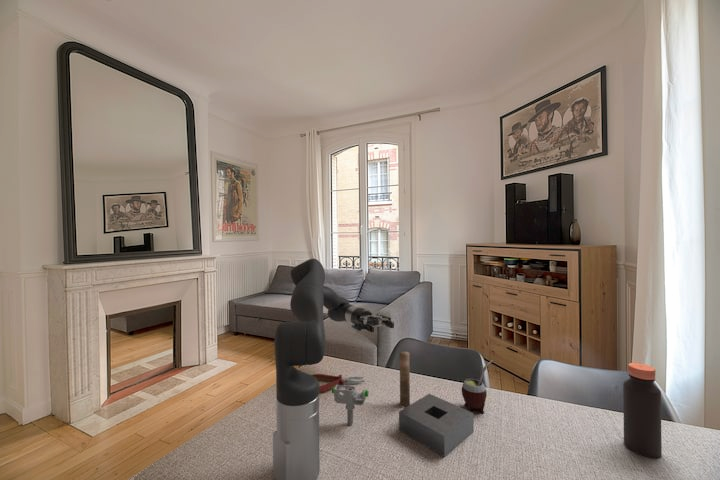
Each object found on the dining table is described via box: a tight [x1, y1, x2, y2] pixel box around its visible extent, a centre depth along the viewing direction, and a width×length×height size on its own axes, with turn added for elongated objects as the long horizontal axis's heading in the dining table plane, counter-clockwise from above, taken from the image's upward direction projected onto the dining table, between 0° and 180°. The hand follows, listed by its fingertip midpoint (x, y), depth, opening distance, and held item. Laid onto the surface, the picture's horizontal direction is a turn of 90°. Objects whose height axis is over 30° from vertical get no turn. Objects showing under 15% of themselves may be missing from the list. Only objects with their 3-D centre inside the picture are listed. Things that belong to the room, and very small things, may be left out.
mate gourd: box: [461, 359, 494, 415], centre depth 92 cm, size 8×8×15 cm
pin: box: [399, 351, 411, 408], centre depth 94 cm, size 3×3×16 cm
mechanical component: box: [331, 385, 369, 427], centre depth 84 cm, size 3×10×10 cm, turn 79°
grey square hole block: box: [398, 393, 475, 458], centre depth 81 cm, size 14×14×5 cm
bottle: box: [622, 362, 663, 459], centre depth 74 cm, size 7×7×20 cm
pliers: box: [311, 373, 366, 395], centre depth 108 cm, size 12×21×3 cm, turn 102°
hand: (383, 327), depth 104 cm, fingers open, 8 cm apart
